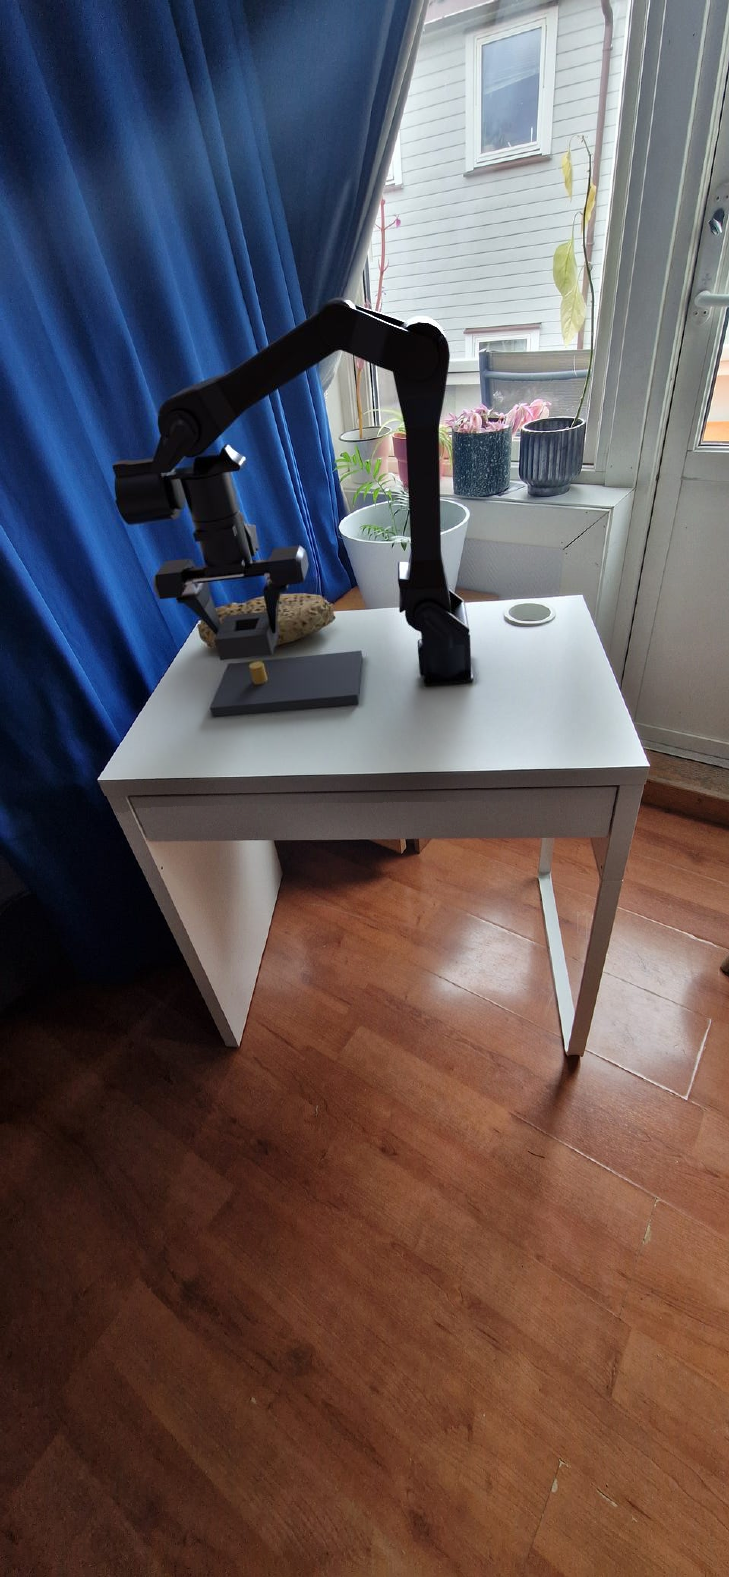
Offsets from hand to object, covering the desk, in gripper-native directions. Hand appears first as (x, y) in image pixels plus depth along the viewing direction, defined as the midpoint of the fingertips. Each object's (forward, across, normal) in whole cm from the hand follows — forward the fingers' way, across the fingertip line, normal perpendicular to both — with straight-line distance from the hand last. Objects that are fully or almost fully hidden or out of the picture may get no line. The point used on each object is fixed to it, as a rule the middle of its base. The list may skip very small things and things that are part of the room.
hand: (248, 634), depth 87 cm
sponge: (+9, +1, -16) cm, 18 cm away
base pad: (+9, -4, 0) cm, 9 cm away
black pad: (+2, 0, 0) cm, 2 cm away
